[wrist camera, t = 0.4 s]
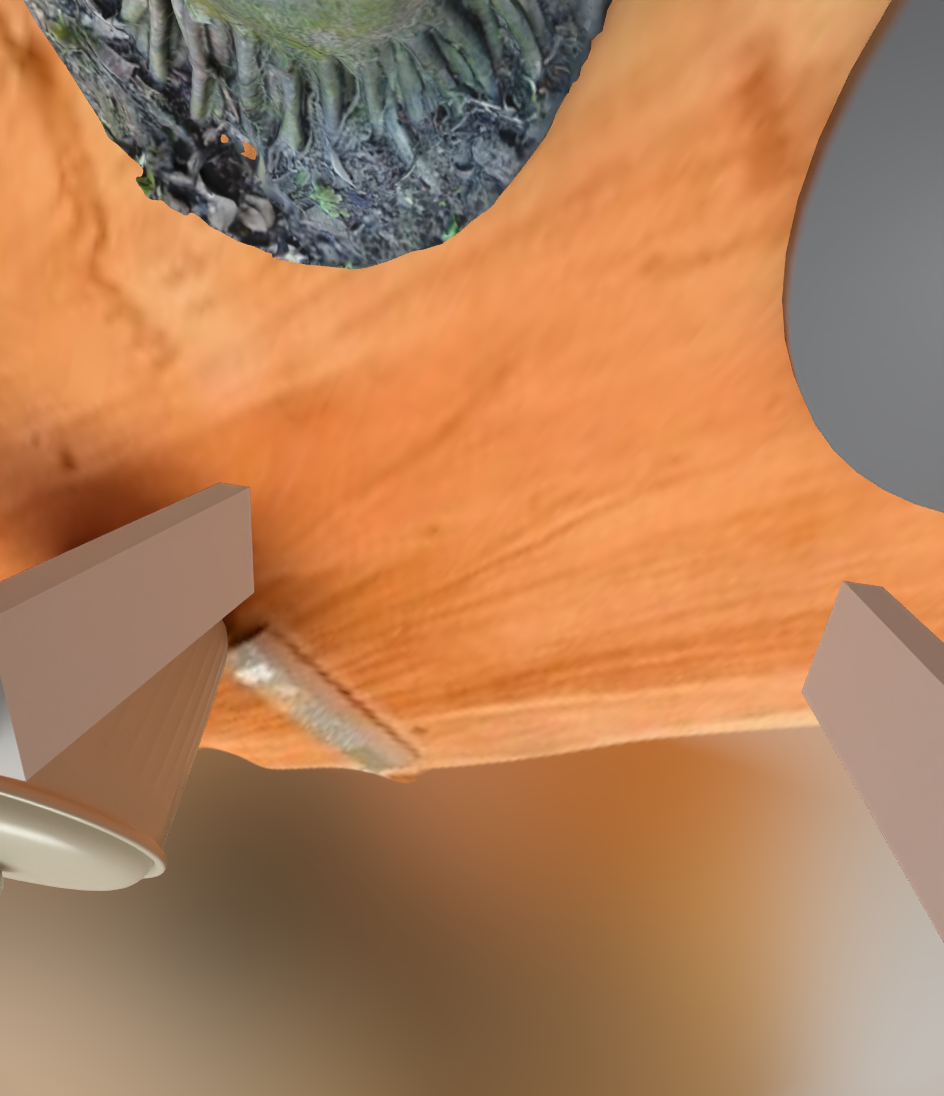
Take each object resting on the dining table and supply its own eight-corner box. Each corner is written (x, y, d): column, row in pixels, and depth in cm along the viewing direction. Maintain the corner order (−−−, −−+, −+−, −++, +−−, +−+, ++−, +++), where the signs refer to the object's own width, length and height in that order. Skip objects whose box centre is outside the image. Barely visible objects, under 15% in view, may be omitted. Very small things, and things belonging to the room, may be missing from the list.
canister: (313, 619, 43) (175, 968, 29) (207, 685, 54) (69, 963, 40) (60, 468, 35) (-300, 851, 21) (-5, 582, 46) (-272, 885, 32)
